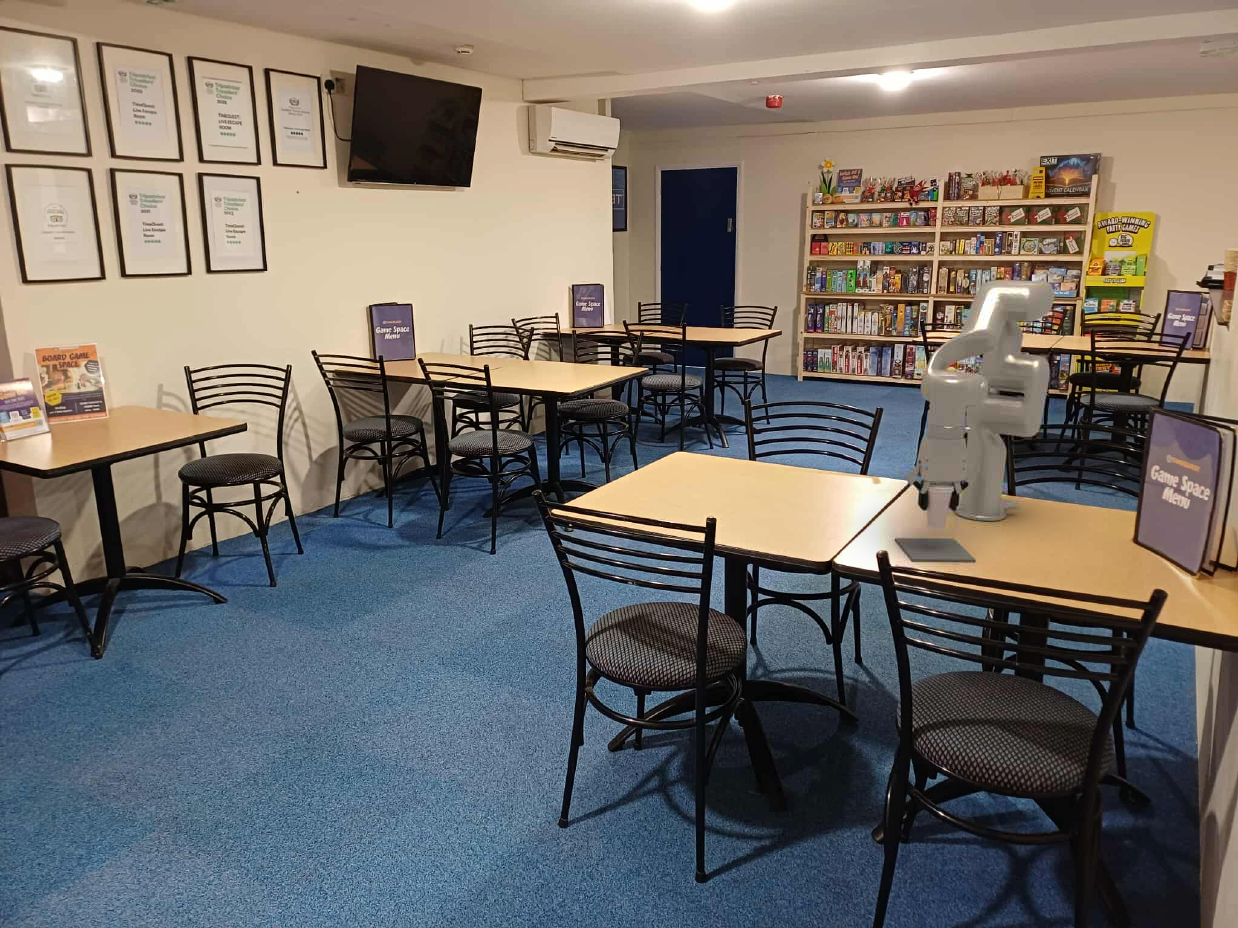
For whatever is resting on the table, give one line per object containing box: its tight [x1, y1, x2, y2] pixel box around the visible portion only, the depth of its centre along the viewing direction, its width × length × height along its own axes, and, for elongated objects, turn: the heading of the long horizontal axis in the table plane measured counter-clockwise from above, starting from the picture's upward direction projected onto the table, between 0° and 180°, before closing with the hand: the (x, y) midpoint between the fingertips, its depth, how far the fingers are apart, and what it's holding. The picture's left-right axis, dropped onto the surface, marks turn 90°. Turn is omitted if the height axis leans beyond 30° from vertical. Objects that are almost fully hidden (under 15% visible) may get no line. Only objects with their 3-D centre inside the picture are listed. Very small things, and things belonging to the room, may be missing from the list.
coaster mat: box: [894, 537, 977, 563], centre depth 200 cm, size 14×14×1 cm
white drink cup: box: [926, 482, 954, 529], centre depth 196 cm, size 6×6×14 cm
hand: (937, 508), depth 197 cm, fingers closed on white drink cup, 6 cm apart
